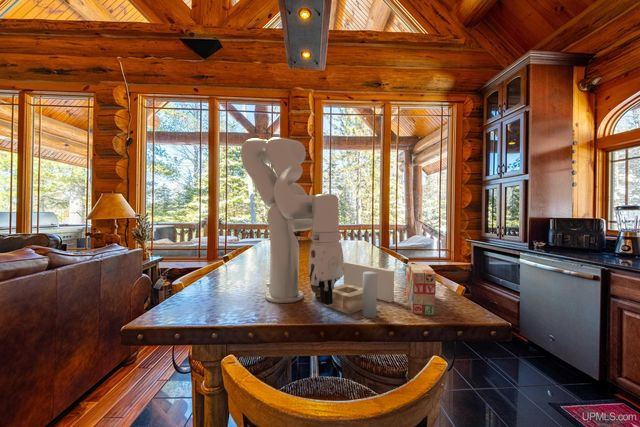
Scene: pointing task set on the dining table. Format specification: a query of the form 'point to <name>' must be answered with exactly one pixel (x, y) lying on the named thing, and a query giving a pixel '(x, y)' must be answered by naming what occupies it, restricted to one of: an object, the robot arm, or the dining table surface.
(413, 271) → the stack of blocks
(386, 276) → the backstop wall
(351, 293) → the socket block
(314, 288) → the cup
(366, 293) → the dowel
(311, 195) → the robot arm
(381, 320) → the dining table surface
